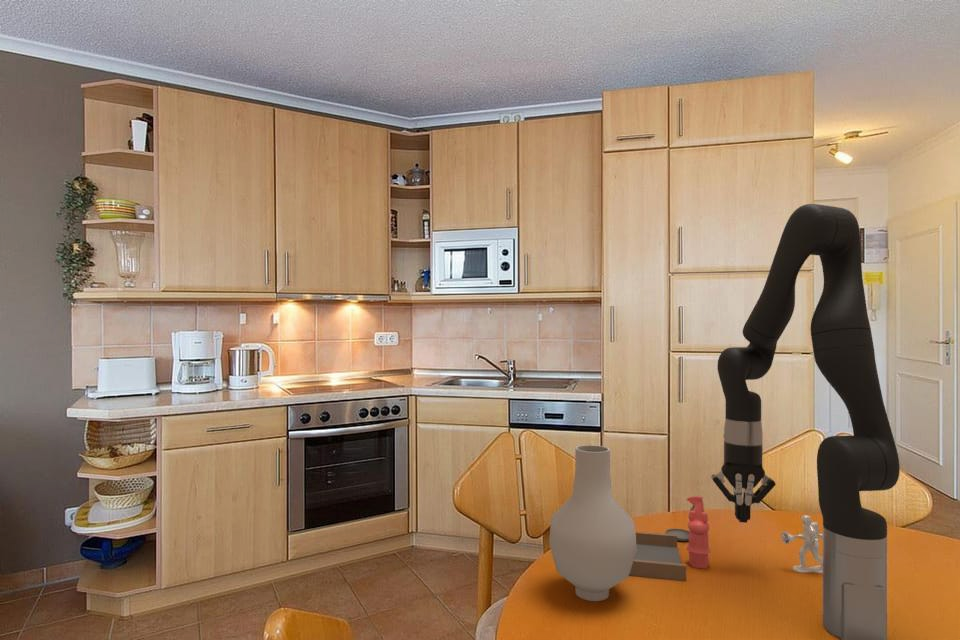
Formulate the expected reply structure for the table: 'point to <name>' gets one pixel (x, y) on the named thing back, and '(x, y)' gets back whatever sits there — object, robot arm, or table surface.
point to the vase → (592, 529)
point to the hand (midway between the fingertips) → (742, 521)
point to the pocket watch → (680, 532)
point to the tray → (657, 557)
